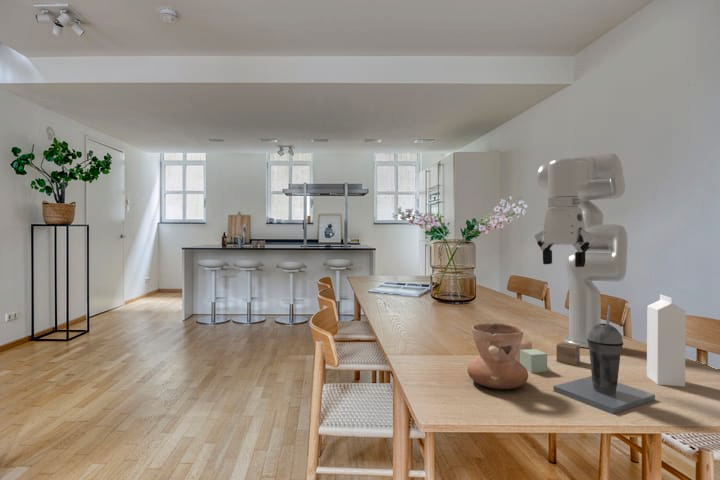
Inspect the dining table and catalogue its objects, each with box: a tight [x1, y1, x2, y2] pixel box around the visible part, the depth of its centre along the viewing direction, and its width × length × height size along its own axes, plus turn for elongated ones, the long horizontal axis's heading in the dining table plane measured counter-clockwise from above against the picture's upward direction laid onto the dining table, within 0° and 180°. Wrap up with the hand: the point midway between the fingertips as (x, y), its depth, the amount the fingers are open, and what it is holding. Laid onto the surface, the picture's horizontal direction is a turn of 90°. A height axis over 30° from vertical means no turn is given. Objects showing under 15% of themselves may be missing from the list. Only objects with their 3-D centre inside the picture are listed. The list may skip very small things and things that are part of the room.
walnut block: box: [555, 341, 581, 366], centre depth 118 cm, size 5×5×5 cm
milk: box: [646, 293, 687, 388], centre depth 101 cm, size 6×6×22 cm
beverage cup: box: [587, 304, 624, 395], centre depth 92 cm, size 7×7×20 cm
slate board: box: [552, 375, 656, 415], centre depth 93 cm, size 16×14×1 cm
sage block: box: [520, 348, 548, 374], centre depth 111 cm, size 5×5×5 cm
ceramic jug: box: [466, 322, 529, 390], centre depth 100 cm, size 18×14×14 cm
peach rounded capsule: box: [514, 339, 533, 363], centre depth 117 cm, size 6×6×6 cm
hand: (563, 265), depth 111 cm, fingers open, 9 cm apart
